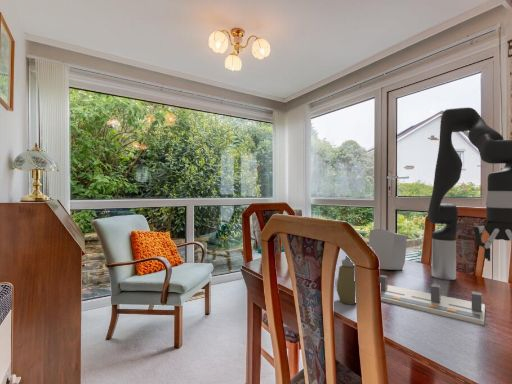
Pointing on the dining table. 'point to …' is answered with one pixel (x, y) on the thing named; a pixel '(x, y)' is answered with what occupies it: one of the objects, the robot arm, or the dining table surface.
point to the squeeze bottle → (346, 282)
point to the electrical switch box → (388, 248)
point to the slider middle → (435, 293)
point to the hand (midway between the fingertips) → (501, 261)
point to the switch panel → (434, 304)
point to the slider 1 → (384, 282)
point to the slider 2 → (476, 301)
